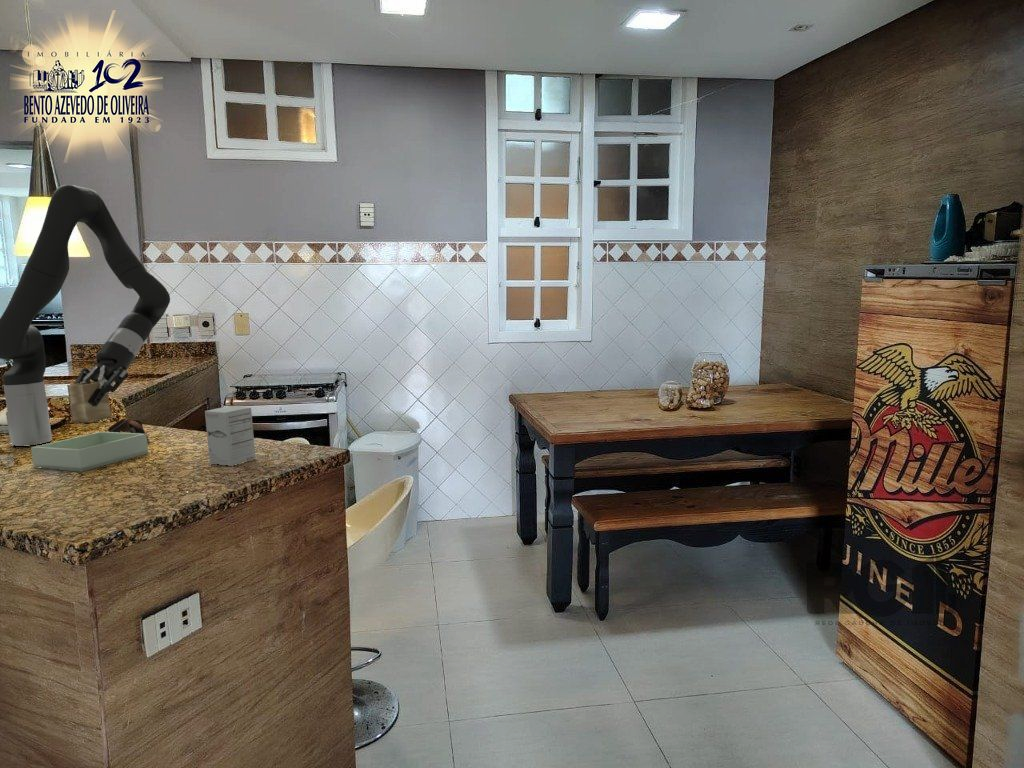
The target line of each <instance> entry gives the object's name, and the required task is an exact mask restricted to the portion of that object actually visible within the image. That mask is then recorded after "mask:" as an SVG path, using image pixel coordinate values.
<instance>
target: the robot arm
mask: <svg viewBox="0 0 1024 768" xmlns="http://www.w3.org/2000/svg"><path fill="white" fill-rule="evenodd" d="M78 223H83V224H85V225H86V226H87V227H88V228H89V229H90V230H91V231H92V232H93V234H94V236H96V237H97V239H98V241H99V243H100V245H101V246H100V247H101V249H102V252H103V256H104V259H105V261H106V263H107V265H108V267H109V268H110V270H112V273H113V274H114V275H115V276H116V278H117V279H118V280H119V282H120V283H121V284H122V285H123V286H124V287H125V288H127V289H129V290H133V291H134V292H135V293H136V294H137V295H138V296H139V297H138V300H137V301H136V303H135V305H134V307H133V308H132V309H131V310H130V313H128V314H126V315H125V316H124V318H123V319H122V321H121V322H120V324H118V326H117V327H116V329H115V330H114V331H112V332H111V334H110V335H109V337H108V338H107V340H106V341H105V342H104V344H103V345H102V346H101V348H100V349H99V351H98V353H97V354H96V356H95V357H96V358H95V359H96V364H95V365H93V367H91V368H90V369H88V368H87V367H83V368H82V369H81V371H80V372H79V375H78V376H77V378H76V379H75V382H74V383H73V384H77V383H84V382H86V383H88V384H91V382H100V383H99V385H98V387H97V388H98V389H96V390H95V391H94V393H93V394H92V396H91V397H90V399H89V400H88V403H90V404H91V405H92V406H97V405H98V404H99V402H100V401H101V399H102V398H103V396H104V395H105V394H108V395H109V393H110V392H111V393H114V392H116V390H117V389H118V388H119V387H120V386H121V385H122V384H123V382H124V381H125V380H126V379H127V378H128V376H129V373H128V371H127V370H128V369H129V367H130V366H131V365H132V364H133V363H132V362H133V361H134V360H135V358H136V357H137V356H138V354H139V352H140V351H141V348H142V346H143V345H144V343H145V342H146V340H147V339H148V337H149V335H150V334H151V333H152V330H153V329H154V328H155V326H156V325H157V324H158V322H159V321H160V320H161V318H162V317H163V316H164V314H165V313H166V311H167V309H168V307H169V305H170V303H171V302H170V301H171V296H170V294H169V291H168V290H167V288H166V287H165V285H163V284H162V283H161V282H160V280H159V279H157V278H156V277H155V276H154V275H153V274H151V272H149V271H148V270H147V269H146V267H145V266H144V265H143V263H142V262H141V260H139V258H138V257H137V256H136V254H135V252H134V251H133V250H132V249H131V247H130V246H129V244H128V243H127V241H126V239H125V238H124V236H123V234H122V233H121V231H120V228H118V225H117V224H116V222H115V220H114V219H113V216H112V215H111V213H110V211H109V209H108V207H107V205H106V203H105V202H104V200H103V198H102V197H101V195H100V194H99V193H98V192H97V191H95V190H94V189H92V188H88V187H84V186H79V185H74V184H62V185H60V186H58V187H57V188H56V189H55V190H54V192H53V193H52V196H51V198H50V200H49V203H48V207H47V211H46V213H45V217H44V220H43V224H42V227H41V230H40V233H39V235H38V237H37V240H36V242H35V245H34V247H33V249H32V252H31V254H30V256H29V258H28V259H27V262H26V264H25V266H24V269H23V271H22V273H21V276H20V278H19V280H18V283H17V285H16V288H15V289H14V291H13V294H12V296H11V298H10V300H9V303H8V304H7V306H6V308H5V310H4V312H3V313H2V315H1V316H0V359H1V360H6V361H7V360H12V365H11V368H9V370H7V371H6V372H5V373H3V375H2V384H3V391H4V398H5V404H6V413H5V416H6V422H7V428H8V429H7V431H8V436H9V443H12V445H18V446H24V445H34V444H40V443H45V442H49V441H51V440H52V441H53V437H52V429H51V422H50V415H49V414H50V413H49V407H48V400H47V391H46V386H45V385H46V383H45V380H44V379H45V377H44V376H45V372H46V369H47V368H46V365H47V364H46V353H45V344H44V339H43V336H42V333H41V332H40V330H39V329H38V328H37V327H35V326H34V325H32V323H33V320H34V319H35V318H36V316H37V315H38V314H39V313H40V312H42V311H43V309H45V308H46V307H47V306H48V304H50V303H51V302H52V301H53V300H54V299H55V298H56V296H58V294H59V293H60V291H61V289H62V288H63V285H64V283H65V281H66V278H67V276H68V275H69V271H70V255H69V242H70V239H71V236H72V234H73V232H74V229H75V227H76V226H77V224H78ZM104 384H105V385H104ZM12 445H11V446H12Z"/></svg>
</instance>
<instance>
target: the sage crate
mask: <svg viewBox="0 0 1024 768" xmlns="http://www.w3.org/2000/svg"><path fill="white" fill-rule="evenodd" d="M146 435H147V433H145V434H140V433H130V432H120V433H119V432H109V431H107V432H105V431H98V432H93V433H87V434H84V435H80V436H79V435H78V436H76V437H71V438H67V439H66V438H65V439H63V440H57V441H54V442H53V441H52V442H50V443H46V444H42V445H36V446H30V449H31V450H30V451H31V457H32V464H33V468H34V467H41V468H49V469H48V470H53V469H59V470H58V471H66V470H68V472H70V471H71V472H86V471H89V470H90V471H91V470H93V469H97V468H100V467H104V466H108V465H111V464H115V463H117V462H122V461H125V460H129V459H132V458H136V457H140V456H144V455H146V454H147V455H148V454H149V445H148V442H147V437H148V435H147V436H146Z"/></svg>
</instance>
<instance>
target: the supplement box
mask: <svg viewBox="0 0 1024 768" xmlns="http://www.w3.org/2000/svg"><path fill="white" fill-rule="evenodd" d="M204 416H205V427H206V437H207V447H208V449H207V450H208V457H209V459H208V460H209V464H210V465H217V464H219V466H225V465H228V466H227V467H230V466H232V465H235V464H238V463H242V462H245V461H249V460H252V459H255V458H256V448H255V439H254V438H255V437H254V427H253V415H252V407H244V406H243V407H242V406H230V405H228V406H227V405H226V406H223V407H222V406H221V407H218V408H214V409H213V408H212V409H209V410H208V409H207V410H205V411H204ZM255 460H256V459H255ZM249 462H250V461H249ZM232 467H233V466H232Z"/></svg>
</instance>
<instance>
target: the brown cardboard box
mask: <svg viewBox="0 0 1024 768" xmlns="http://www.w3.org/2000/svg"><path fill="white" fill-rule="evenodd" d="M99 383H100V382H94V381H91V384H88V383H86V382H84V383H82V382H80V383H77V384H74V383H73V384H67V385H66V387H67V393H68V400H69V407H70V415H71V422H72V423H92V422H96V421H102V420H106V419H112V413H111V406H110V399H109V393H108V394H105V395H104V396H103V398H102V399H101V401H100V402H99V404H98V405H97V406H92V405H91V404H90V403H88V400H89V399H90V397H91V396H92V394H93V393H94V391H95V390H96V389H98V388H97V387H98V385H99ZM104 385H105V384H104Z"/></svg>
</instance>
